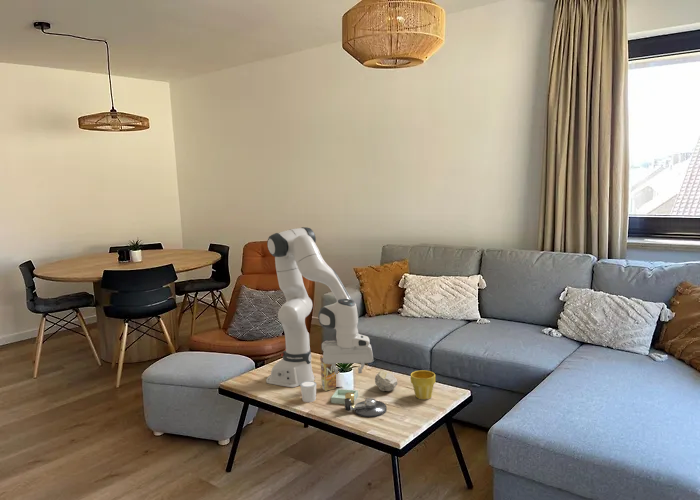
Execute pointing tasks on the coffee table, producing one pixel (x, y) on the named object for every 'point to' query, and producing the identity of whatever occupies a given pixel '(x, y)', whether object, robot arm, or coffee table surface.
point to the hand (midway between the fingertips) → (348, 373)
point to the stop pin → (351, 396)
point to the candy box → (327, 376)
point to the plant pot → (423, 383)
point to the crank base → (372, 410)
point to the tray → (342, 395)
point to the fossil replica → (385, 381)
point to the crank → (369, 404)
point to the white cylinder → (308, 391)
